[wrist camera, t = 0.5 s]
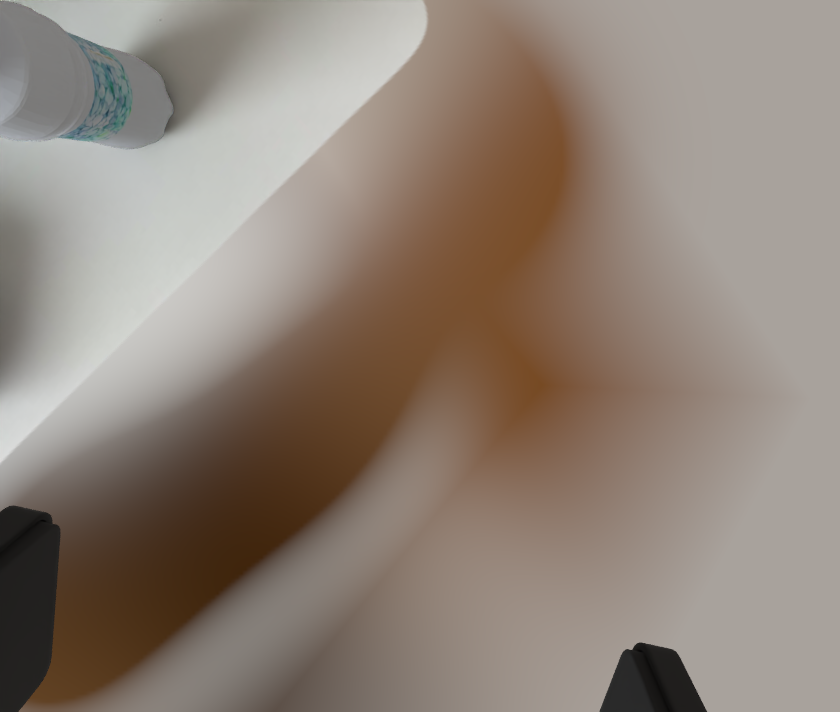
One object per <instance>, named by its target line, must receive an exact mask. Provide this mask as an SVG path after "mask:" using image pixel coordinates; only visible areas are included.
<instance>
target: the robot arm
mask: <svg viewBox="0 0 840 712" xmlns="http://www.w3.org/2000/svg"><path fill="white" fill-rule="evenodd" d="M59 545H60V528H59V526H58V525H55V524H52V517H51V515H50V514H48V513H46V512H41V511H36V510H32V509H27V508H23V507H18V506H9V507H7V508H5V509H3V510H2V511H1V512H0V712H18V711H19V710H20V709H21V708H22V706H23V705H24V704H25V703H26V701H27V700H28V699H29V698H30V696H31V695H32V694H33V693H34V692H35V690H36V689H37V688H38V687H39V685H40V683H41V682H42V681H43V679H44V677H45V676H46V673H47V671H48V669H49V666H50V663H51V656H52V642H53V629H54V615H55V600H56V587H57V573H58V559H59ZM600 712H707V711H706V709H705V707H704V705H703V703H702V701H701V699H700V697H699V695H698V693H697V691H696V689H695V687H694V685H693V683H692V681H691V679H690V677H689V675H688V673H687V671H686V669H685V667H684V665H683V663H682V661H681V659H680V657H679V655H678V654H677V652H676V651H674V650H672V649H668V648H664V647H659V646H654V645H650V644H645V643H637V644H636V645H635V646H634V648H633V650H629V649H626V650H625V651H624V652H623V653H622V655H621V657H620V660H619V663H618V665H617V668H616V670H615V673H614V675H613V678H612V681H611V683H610V686H609V688H608V691H607V693H606V696H605V699H604V701H603V704H602V707H601V709H600Z"/></svg>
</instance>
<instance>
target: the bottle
mask: <svg viewBox="0 0 840 712" xmlns="http://www.w3.org/2000/svg"><path fill="white" fill-rule="evenodd" d="M172 114H173V105H172V102H171V100H170V98H169V96H168V93H167V91H166V88H165V82H164V80H163V78H162V77H161V76H160V74H159V73H158V72H157V71H156V70H155V69H153V68H152V67H151V66H149V65H148V64H146V63H145V62H144V61H142V60H140V59H139V58H137V57H135V56H133V55H130V54H128V53H125V52H121V51H118V50H114V49H110V48H107V47H103V46H100V45H97V44H95V43H92V42H90V41H88V40H85V39H83V38H80V37H78V36H75V35H73V34H70V33H68V32H65V31H64V30H63V29H62V28H61V27H60V26H59V25H58V24H56V23H55V22H54V21H52V20H51V19H49V18H47V17H45V16H43V15H41V14H39V13H37V12H36V11H34V10H32V9H30V8H28V7H26V6H23V5H21V4H17V3H14V2H7V1H0V137H3V138H6V139H10V140H16V141H46V140H51V139H54V138H64V139H72V140H80V141H88V142H94V143H98V144H102V145H105V146H110V147H114V148H121V149H136V148H141V147H144V146H146V145H149V144H151V143H154V142H156V141H158V140H159V139H161V138H162V137H163V135H164V129H165V127H166V124H167V122H168V120H169V118H170V117H171V116H172Z"/></svg>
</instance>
